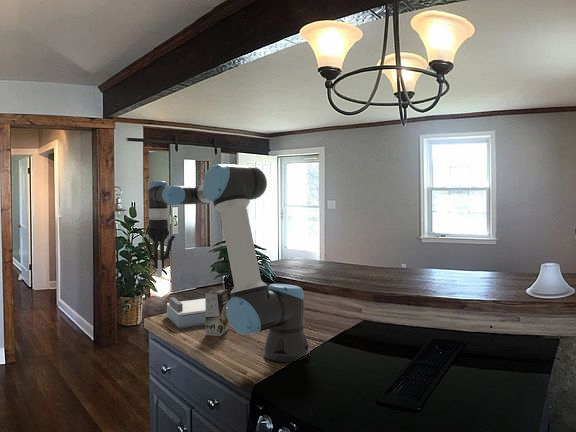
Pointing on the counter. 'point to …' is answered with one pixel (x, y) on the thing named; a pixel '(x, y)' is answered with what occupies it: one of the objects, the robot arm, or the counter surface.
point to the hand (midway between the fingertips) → (159, 276)
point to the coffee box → (216, 312)
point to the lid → (186, 306)
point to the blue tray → (186, 319)
